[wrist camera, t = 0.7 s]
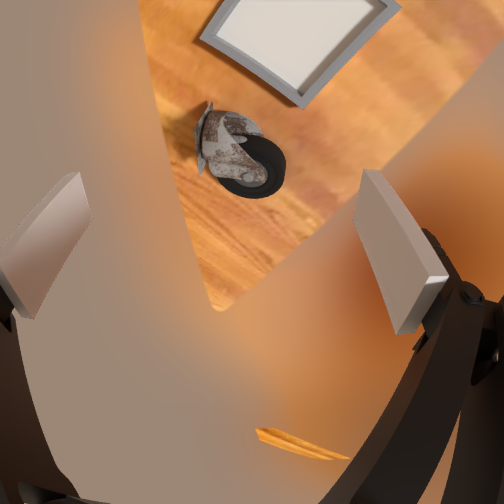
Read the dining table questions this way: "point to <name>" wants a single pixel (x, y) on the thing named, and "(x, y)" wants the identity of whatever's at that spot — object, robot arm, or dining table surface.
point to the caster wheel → (238, 154)
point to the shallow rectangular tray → (296, 38)
